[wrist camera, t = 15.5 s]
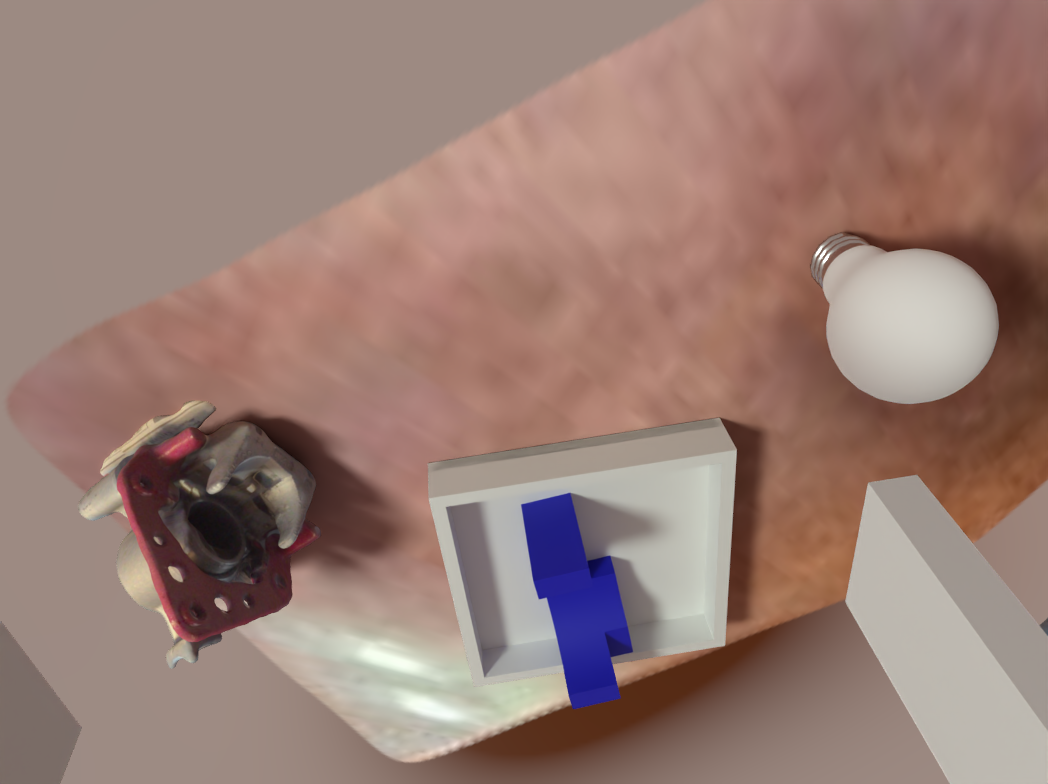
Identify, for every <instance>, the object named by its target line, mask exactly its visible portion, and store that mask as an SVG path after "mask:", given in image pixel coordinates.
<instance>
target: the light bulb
mask: <svg viewBox="0 0 1048 784" xmlns="http://www.w3.org/2000/svg"><path fill="white" fill-rule="evenodd" d="M810 269H811V275H812V277H813V279H814V280H815V281H816V282H817V284H819V286H820V287H821V288H822V289H823V291H824V294H825V297H826V299H827V301H828V302H829V304H830V308H829V313H828V318H827V324H826V333H827V341H828V345H829V349H830V352H831V356H832V358H833V359H834V361H835V363H836V364H837V366H838V368H839V369H840V371H841V372H842V374H843V375H844V376H845V377H846V378H847V379H848V380H849V381H851V382H852V383H853V384H854V385H855V386H856V387H857V388H858V389H860V390H862V391H864V392H866V393H868V394H870V395H872V396H874V397H876V398H878V399H881V400H885V401H889V402H895V403H902V404H915V403H923V402H931V401H934V400H938V399H942V398H944V397H946V396H949V395H951V394H953V393H955V392H956V391H958V390H960V389H962V388H963V387H964V386H966V385H967V384H968V383H970V382H971V381H972V380H973V379H974V378H975V377H976V376H977V375H978V374H979V373H980V372H981V371H982V369H983V368H984V367H985V365H986V364H987V363H988V361H989V359H990V357H991V355H992V353H993V350H994V347H995V344H996V341H997V337H998V330H999V320H998V312H997V304H996V302H995V300H994V297H993V295H992V293H991V291H990V289H989V287H988V285H987V284H986V282H985V281H984V280H983V279H982V278H981V276H980V275H979V274H978V273H977V272H976V271H975V270H974V269H973V268H972V267H970V266H969V265H967V264H966V263H964V262H963V261H961V260H959V259H957V258H955V257H953V256H951V255H948V254H945V253H942V252H939V251H934V250H928V249H917V248H916V249H906V250H897V251H891V252H886V251H884V250H883V249H881V248H878V247H875V246H871V245H870V244H869V243H867V242H866V241H865V240H864V239H862V238H860V237H858V236H856V235H850V234H847V233H842V232H840V233H837V234H835V235H832V236H830V237H828V238H827V239H826V240H824V241H823V242H822V243H821V244H820V245H819V246H818V248H817V249H816V251H815V252H814V254H813V255H812V259H811V264H810Z"/></svg>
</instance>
